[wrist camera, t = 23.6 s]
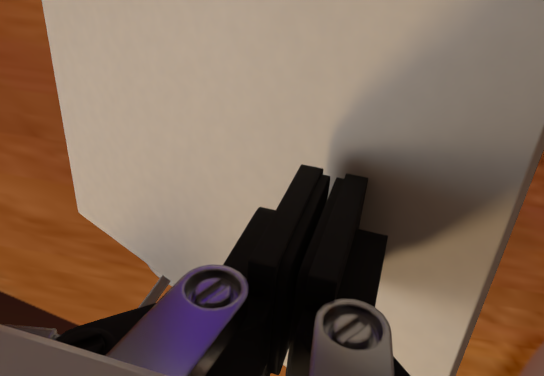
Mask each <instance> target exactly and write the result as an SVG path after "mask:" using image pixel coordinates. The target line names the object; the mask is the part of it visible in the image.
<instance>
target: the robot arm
mask: <svg viewBox="0 0 544 376" xmlns="http://www.w3.org/2000/svg"><path fill="white" fill-rule="evenodd" d="M367 183H368V178H367V177H362V176H357V175H352V174H347V173H346V175H345V178H344V179H343V178H338V177H336V180H335V182H334V185H333V187H332V190H331V192H330V195H329V197H328V192H329V185H330V176H328V175H323V168H318V167H313V166H308V165H303V164H301V166H300V167H299V169H298V171H297V173H296V175H295V176H294V178H293V180H292V182H291V184H290V185H289V187H288V189H287V191H286V193H285V194H284V196H283V198H282V200H281V202H280V204H279V205H278V207H277V209H276V210H273V209H268V208H264V207H259V208H258V209H257V210H256V212H255V213H254V215H253V217H252V218H251V220H250V221H249V223H248V225H247V226H246V228H245V230H244V231H243V233H242V234H241V236H240V238H239V239H238V241H237V243H236V244H235V246H234V248H233V249H232V251H231V252H230V254H229V256H228V257H227V259H226V261H225V262H224V264H223V265H214V264H210V265H204V266H199V267H197V268H194V269H192V270H190V271H189V272H187V273H186V274H185V275H183V276H182V277H181V278H180V279H179V280H178V281H177V282H176V283H175V284H174V286H173V287H172V288H171V289H170V290H169V291H168V292H167V293H166V294H165V295H164V296H163V297H162V298H161V299H160V300H159V301H158V302H157V303H153V304H150V305H147V306H144V307H140V308H137V309H134V310H130V311H127V312H124V313H120V314H117V315H114V316H110V317H107V318H104V319H100V320H97V321H94V322H90V323H87V324H84V325H80V326H77V327H75V328H73V329H70V330H68V331H66V332H65V333H63V334H62V335H57V331H56V329H53V328H42V327H30V326H19V325H8V324H0V376H270V374H271V373H273V374H276V375H279V373H280V371H281V368H282V366H283V363H284V360H285V357H286V354H287V352H288V359H287V368H286V376H410V375H409V373H408V372H407V371H406V370H405V369H404V368H403V367H402V365H401V364H400V363H399V362H398V361H397V360H396V358H395V357H394V356H393V347H392V332H391V328H390V324H389V322H388V320H387V319H386V318H385V316H384V315H383V314H382V313H381V312H380V311H379V310H378V309H377V308H375V305H376V299H377V294H378V288H379V283H380V278H381V272H382V267H383V261H384V256H385V251H386V245H387V240H388V236H387V235H383V234H379V233H374V232H370V231H365V230H361V229H359V225H360V220H361V215H362V210H363V204H364V199H365V194H366V189H367ZM288 349H289V351H288Z"/></svg>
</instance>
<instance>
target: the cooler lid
mask: <svg viewBox="0 0 544 376" xmlns="http://www.w3.org/2000/svg"><path fill="white" fill-rule="evenodd" d="M42 4H43V10H44V16H45V22H46V27H47V33H48V39H49V45H50V50H51V56H52V62H53V68H54V74H55V79H56V85H57V91H58V97H59V102H60V108H61V114H62V120H63V126H64V131H65V137H66V143H67V149H68V154H69V160H70V166H71V172H72V177H73V183H74V189H75V195H76V201H77V206H78V212H79V213H80V214H81V215H83V216H84V217H85V218H87V219H88V220H89V221H91V222H92V223H93V224H95V225H96V226H97V227H99V228H100V229H101V230H103V231H104V232H106V233H107V234H108V235H110V236H111V237H112V238H114V239H115V240H116V241H118V242H119V243H120V244H122V245H123V246H124V247H126V248H127V249H128V250H130V251H131V252H132V253H134V254H135V255H136V256H138V257H139V258H141V259H142V260H143V261H145V262H146V263H147V264H149V265H150V266H151V267H153V268H154V269H155V270H157V271H158V272H159V273H161V274H162V275H163V276H165V277H166V278H167V279H169V280H170V281H171V282H173V283H174V284H175V283H176V282H177V281H178V280H179V279H180V278H181V277H182V276H183V275H185V274H186V273H187V272H189V271H190V270H192V269H194V268H197V267H199V266H204V265H210V264H214V265H223V264H224V262H225V261H226V259H227V257H228V256H229V254H230V252H231V251H232V249H233V248H234V246H235V244H236V243H237V241H238V239H239V238H240V236H241V234H242V233H243V231H244V230H245V228H246V226H247V225H248V223H249V221H250V220H251V218H252V217H253V215H254V213H255V212H256V210H257V209H258V208H259V207H264V208H268V209H273V210H276V209H277V207H278V205H279V204H280V202H281V200H282V198H283V196H284V194H285V193H286V191H287V189H288V187H289V185H290V184H291V182H292V180H293V178H294V176H295V175H296V173H297V171H298V169H299V167H300V166H301V164H303V165H308V166H313V167H318V168H323V175H328V176H330V185H329V192H328V197H329V195H330V192H331V190H332V187H333V185H334V182H335V180H336V177H338V178H343V179H344V178H345V175H346V173H347V174H352V175H357V176H362V177H367V178H368V183H367V189H366V194H365V199H364V204H363V210H362V215H361V220H360V225H359V229H361V230H365V231H370V232H374V233H379V234H383V235H387V236H388V240H387V245H386V251H385V256H384V261H383V267H382V272H381V278H380V283H379V288H378V294H377V299H376V305H375V308H377V309H378V310H379V311H380V312H381V313H382V314H383V315H384V316H385V318H386V319H387V320H388V322H389V324H390V328H391V332H392V347H393V356H394V357H395V358H396V360H397V361H398V362H399V363H400V364H401V365H402V367H403V368H404V369H405V370H406V371H407V372H408V373H409V375H410V376H456V373H457V370H458V368H459V365H460V363H461V360H462V358H463V355H464V353H465V350H466V347H467V345H468V342H469V340H470V337H471V335H472V332H473V329H474V327H475V324H476V322H477V319H478V317H479V314H480V312H481V309H482V306H483V304H484V301H485V299H486V296H487V294H488V291H489V288H490V286H491V283H492V281H493V278H494V276H495V273H496V271H497V268H498V265H499V263H500V260H501V258H502V255H503V253H504V250H505V247H506V245H507V242H508V240H509V237H510V235H511V232H512V230H513V227H514V224H515V222H516V219H517V217H518V214H519V212H520V209H521V206H522V204H523V201H524V199H525V196H526V194H527V191H528V189H529V186H530V183H531V181H532V178H533V176H534V173H535V171H536V168H537V165H538V163H539V160H540V158H541V155H542V153H543V150H544V0H42ZM288 351H289V349H288ZM287 359H288V352H287V354H286V357H285V360H284V363H283V365H285V366H286V367H287Z"/></svg>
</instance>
